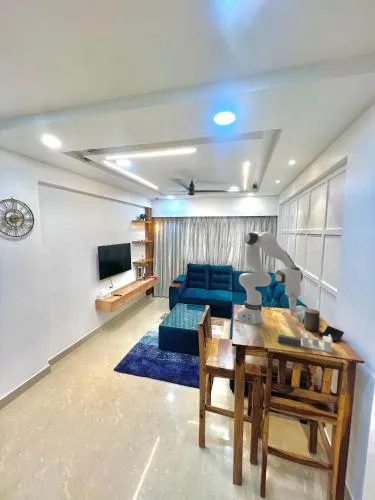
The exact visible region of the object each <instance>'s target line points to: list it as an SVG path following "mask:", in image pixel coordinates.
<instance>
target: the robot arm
mask: <svg viewBox="0 0 375 500" xmlns="http://www.w3.org/2000/svg"><path fill="white" fill-rule="evenodd" d="M244 243H245V244H246V248H245V258H246V266H247V267H248V268H250V269H251V270H252V271H253V272H244V273H241V274H240V275H239V277H238V283H239V284H240V286H242V287H243V288H244V289H245V291H246V300H244V306H243V307H240V308H239V309H238V311H237V313H236V314H235V315H234V318H233V319H234V320H235V321H237V320H238V321H237V322H241V323H245V324H248V325H257V324H262V323H263V322H264V321H263V315H262V314H263V313H262V311H263V304H262V298H263V297H262V296H263V295H262V292H260V291H258V290H256V287H267V286H270V285H271V283H272V277H271V275H270V274H269V273H268V272H267V271H266V270H265V269H264V267H263V265H262V261H261V252H260V249H261V248H262V251H263V253H264V254H265V255H266V256H267V257H268V258H269V257H270V258H272V259H275V260H278V261H280V262H282V263H283V265H284V268H283V269H277V270H276V272H275V273H274V279H275V282H276V283H277V284H279V285H285V286H284V288H285V289H284V291H285V292H284V295H286V296H287V298H288V307H289V311H290V316H291V317H294V316H295V313H294V311H296V306H297V299H298V298H299V297H300V296H301V295H302V294H301V293H302V292H301V291H302V286H301V282H302V281H303V279H304V275H303V272H302V271H301V268H300V267H298V266H297V265H296V264H295V263H294V261H293V259H292V258H291V256H290V254H289V253H288V252H287V251H286V250H284V249H283V248H282V247H281V245H280V244H279V243H278V241H277V239H276V237H275V236H274V235H273V233H272V232H270V231H264V232H262V231H247V232H246V233H245V235H244Z"/></svg>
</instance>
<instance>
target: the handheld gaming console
mask: <svg viewBox="0 0 375 500" xmlns="http://www.w3.org/2000/svg"><path fill="white" fill-rule="evenodd" d="M318 334H319V336H322V337H323V336H329V334H330V335H331V338H332V342H339V341H341V339H342V337H343V335H344V334H345V331H343V330H341V329H338V328H336V327H333V326H330V325H327V326H326V328H325V330H324V331H322V332H318Z"/></svg>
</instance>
